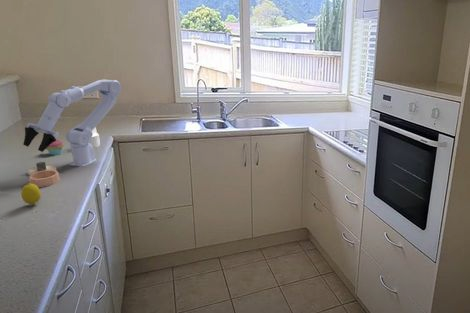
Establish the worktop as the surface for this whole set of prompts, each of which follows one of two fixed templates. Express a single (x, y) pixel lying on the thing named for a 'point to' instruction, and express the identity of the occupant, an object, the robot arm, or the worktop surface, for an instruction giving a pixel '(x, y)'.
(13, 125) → the worktop surface
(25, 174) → the mat
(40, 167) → the lid
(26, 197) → the lemon
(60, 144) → the cupcake
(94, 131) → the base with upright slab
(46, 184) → the bowl
